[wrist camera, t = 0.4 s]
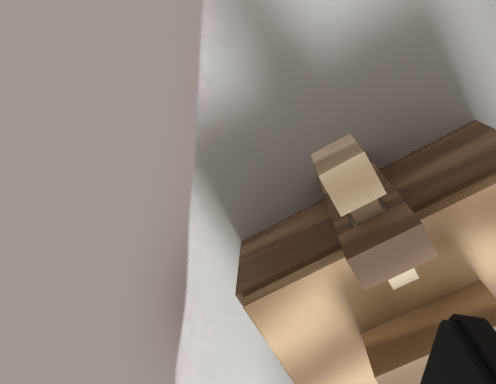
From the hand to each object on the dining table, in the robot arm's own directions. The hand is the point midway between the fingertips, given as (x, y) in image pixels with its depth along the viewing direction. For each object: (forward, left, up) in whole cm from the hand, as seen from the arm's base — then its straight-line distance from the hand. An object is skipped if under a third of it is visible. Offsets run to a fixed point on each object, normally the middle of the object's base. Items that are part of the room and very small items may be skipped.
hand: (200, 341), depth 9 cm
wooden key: (-7, -4, -17) cm, 19 cm away
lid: (-16, -4, -20) cm, 26 cm away
